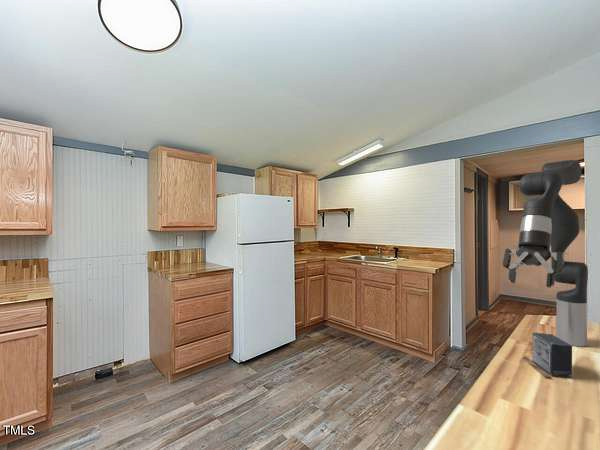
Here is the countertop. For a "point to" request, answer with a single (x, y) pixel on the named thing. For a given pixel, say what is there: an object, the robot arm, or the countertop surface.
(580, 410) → the countertop surface
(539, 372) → the stop strip
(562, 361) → the small box
